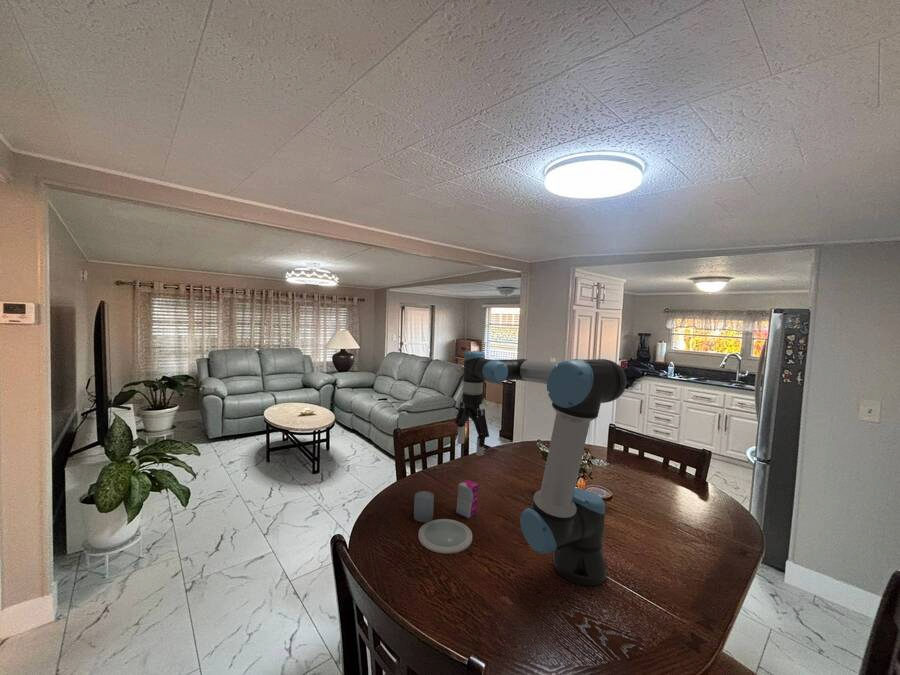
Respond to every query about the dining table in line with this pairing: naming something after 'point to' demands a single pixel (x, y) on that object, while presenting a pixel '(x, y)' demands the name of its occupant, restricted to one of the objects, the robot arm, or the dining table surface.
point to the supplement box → (467, 499)
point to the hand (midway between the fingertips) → (470, 449)
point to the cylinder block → (423, 506)
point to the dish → (445, 536)
